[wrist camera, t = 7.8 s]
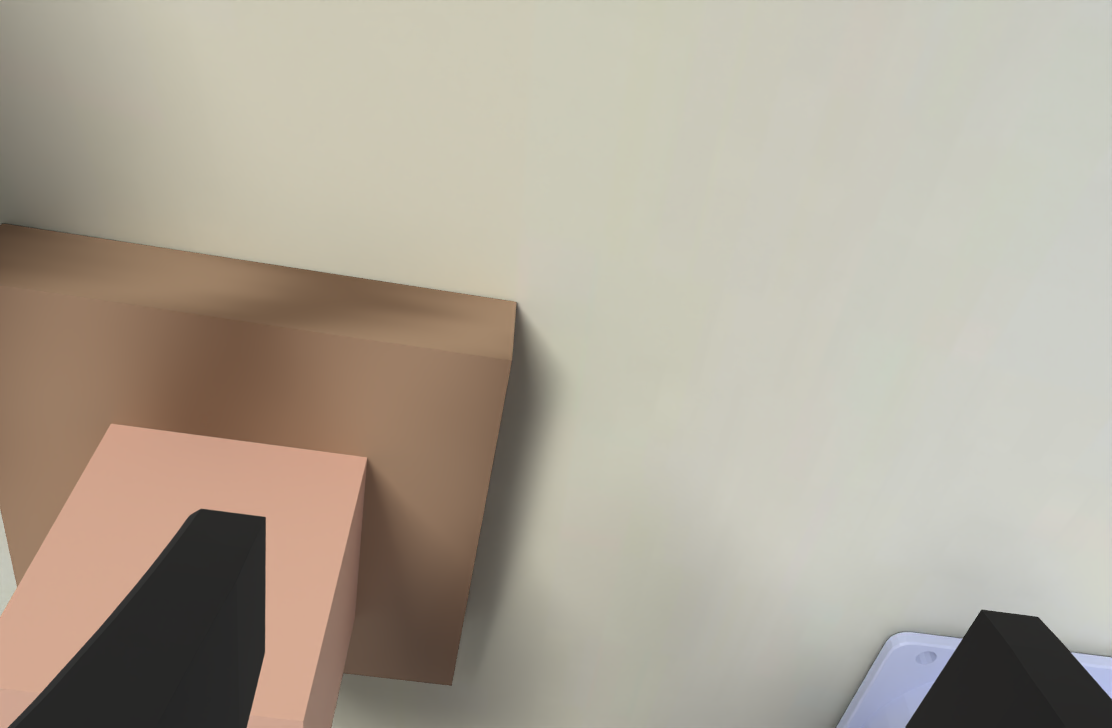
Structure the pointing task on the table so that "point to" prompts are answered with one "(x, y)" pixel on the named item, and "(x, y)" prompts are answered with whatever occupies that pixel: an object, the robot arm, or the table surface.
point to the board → (264, 404)
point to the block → (150, 524)
